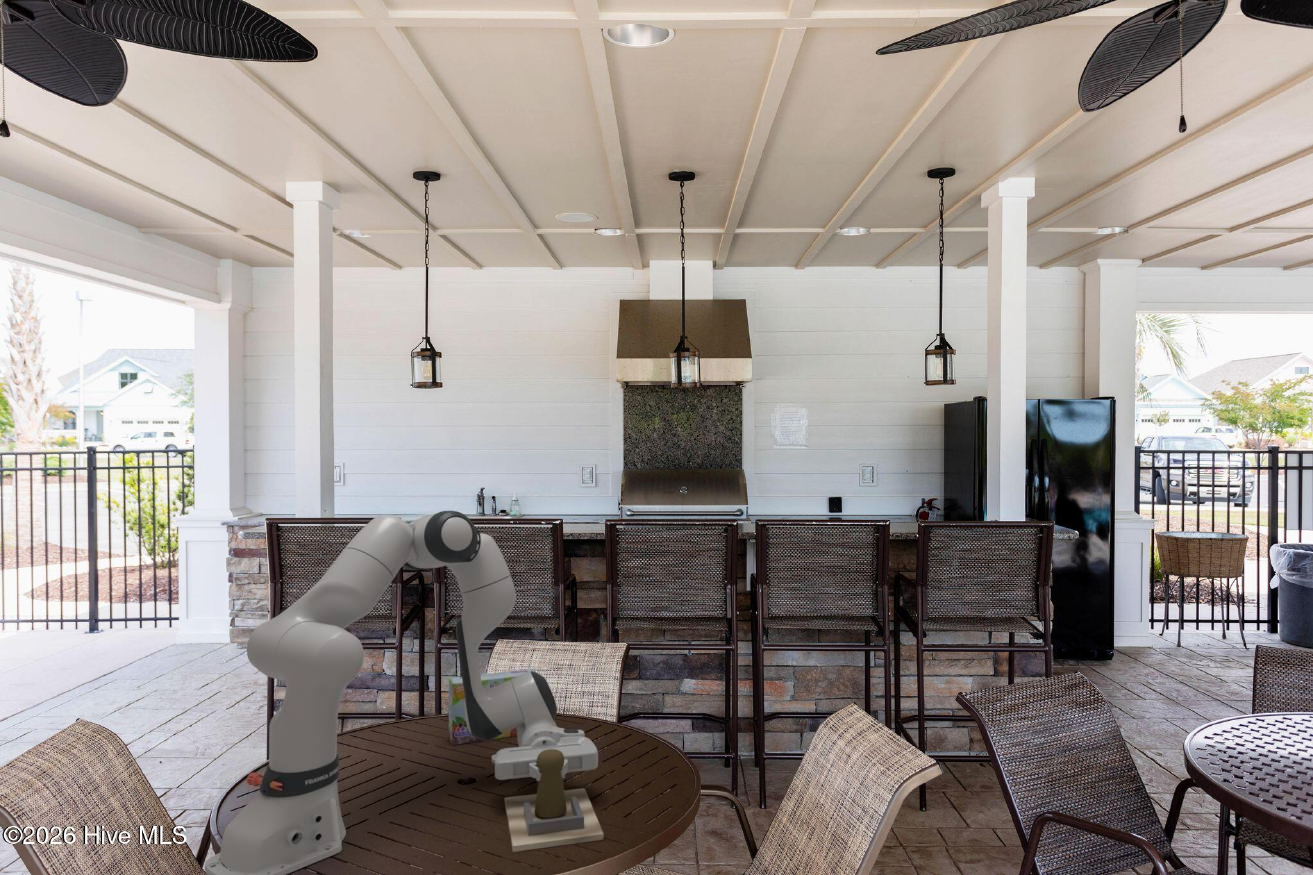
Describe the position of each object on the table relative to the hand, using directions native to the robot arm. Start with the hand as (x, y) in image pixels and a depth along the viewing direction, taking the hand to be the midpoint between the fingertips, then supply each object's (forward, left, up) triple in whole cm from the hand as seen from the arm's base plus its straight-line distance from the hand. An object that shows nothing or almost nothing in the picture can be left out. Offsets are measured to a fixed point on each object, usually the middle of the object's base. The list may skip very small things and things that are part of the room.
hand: (551, 775), depth 145 cm
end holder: (-2, -2, -7) cm, 8 cm away
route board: (0, 0, -8) cm, 8 cm away
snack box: (+30, +40, -9) cm, 50 cm away
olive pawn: (+1, +1, -7) cm, 7 cm away
